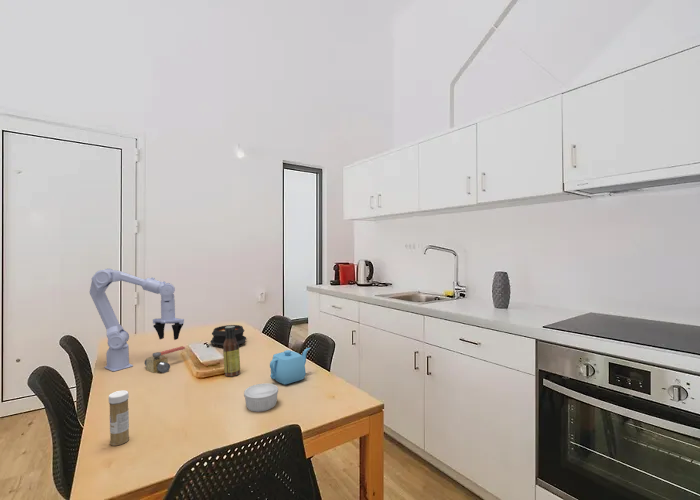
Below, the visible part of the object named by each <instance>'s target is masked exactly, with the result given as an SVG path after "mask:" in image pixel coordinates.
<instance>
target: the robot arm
mask: <svg viewBox="0 0 700 500" xmlns="http://www.w3.org/2000/svg"><path fill="white" fill-rule="evenodd" d="M116 282H125V283H129V284H133V285H137V286H139V287H141V289H142V290H143V291H147V292H149V293H154V294H157V295H160V299H161V300H160V315H161V316H160V317H161V318H154V319H152V324H153V326H152V327H153V328H154V329H155V331H156V334H157V336H158V339H159V340H163V339H165V326H166V324H171V328H172V332H173V340H174V341H175V340H179V336H180V332H181V330H182V328H183V326H184V323H185V319H184V318H177V317H176V305H175V304H176V303H175V302H176V300H175V291H176V287H175V286H174V284H172V283H171V282H167V283H166V281H164V280H163V281H161V280H157V279H156V278H155V277H147V278H142V277H139V276H135V275H133V274H130V273H127V272H124V271H122V270H116V269H112V268H104V269H100V270H97V271H96V272H95V274H93V276H92V277H91V283H90V288H89V295H90V296H91V299H92V301H93V304H94V306H95V308H96V310H97V312H98V315H99V316H100V319H101V321H102V323H103V325H104V327H105V329H106V338H107V346H108V349H107V350H106V353H105V354H106V365H105V366H104V369H106V370H108V371H111V372H117V371H121V370H124V369H128V368H132V367H134V365H133V364H131V363H130V357H129V356H130V355H129V354H130V353H129V344H128V341H129V340H130V335H129V333H128V331H126V330H125V329H124V327H123V326H122V325H121V324H120V322H119V320H118V318H117V316H116V313H115V311H114V309H113V306H112V304H111V302H110V300H109V299H108V296H107V294H106V291H107V289H108V288H109V286H110V285H111V284H112V283H116Z"/></svg>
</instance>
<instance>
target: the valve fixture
mask: <svg viewBox="0 0 700 500" xmlns="http://www.w3.org/2000/svg"><path fill="white" fill-rule="evenodd" d="M168 362H169V361H168V357H167V356H165V355H161V356H159V357H153V356H150V357H146V359H145V360H144V366H145V367H146V371H148V372H150V373H152V374H157V373H163V374H165V373H168V372H169V371H170V368H171V365H170V363H168Z"/></svg>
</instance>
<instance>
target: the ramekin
mask: <svg viewBox="0 0 700 500" xmlns="http://www.w3.org/2000/svg"><path fill="white" fill-rule="evenodd" d="M278 394H279V387H278V386H277V385H276V384H274V383H266V382H264V383H257V384H253V385H250V386H249V387H247V388H246V389H245V390H244V392H243V396H244V398H245V405H246V408H247V409H248V410H249V411H251V412H257V413H258V412H259V413H260V412H266V411H269V410H271V409H273V408H274V407H275V406H276V404H277V401H278Z"/></svg>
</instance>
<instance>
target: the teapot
mask: <svg viewBox="0 0 700 500" xmlns="http://www.w3.org/2000/svg"><path fill="white" fill-rule="evenodd" d="M310 349H311V348H310V347H307V348H305V349H304V350H303V351H302V354H300V353H299V352H297V351H294V350H290V349H286V350H283V352H278V353H274V354H273V356H272V359H271V361H270V362H269V368H270V379H272V380H275V381H276V382H277V383H280V384H282V385H288V384H291V383H294V382H300V381H301V380H304V379H305V377H306V374H307V373H306V371H307V370H306V366H305V365H306V363H307V354H308V351H310Z"/></svg>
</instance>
